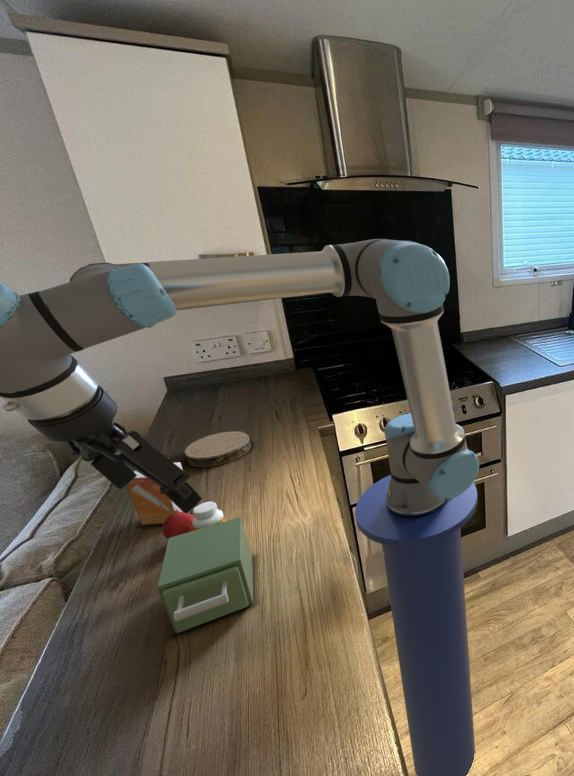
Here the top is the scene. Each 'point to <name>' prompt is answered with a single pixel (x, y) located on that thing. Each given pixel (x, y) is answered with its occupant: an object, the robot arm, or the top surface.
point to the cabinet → (207, 556)
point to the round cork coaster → (217, 449)
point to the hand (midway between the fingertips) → (159, 493)
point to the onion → (178, 524)
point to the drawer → (205, 598)
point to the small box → (150, 500)
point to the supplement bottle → (207, 515)
